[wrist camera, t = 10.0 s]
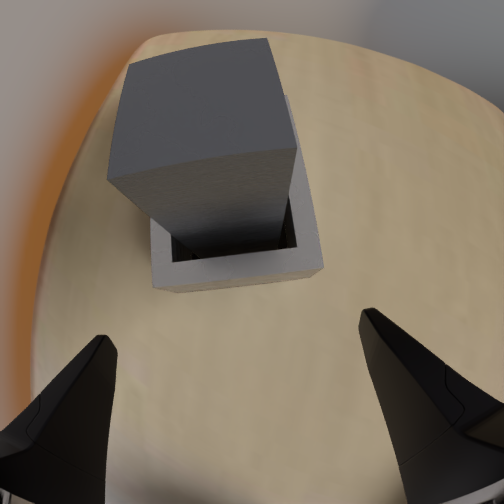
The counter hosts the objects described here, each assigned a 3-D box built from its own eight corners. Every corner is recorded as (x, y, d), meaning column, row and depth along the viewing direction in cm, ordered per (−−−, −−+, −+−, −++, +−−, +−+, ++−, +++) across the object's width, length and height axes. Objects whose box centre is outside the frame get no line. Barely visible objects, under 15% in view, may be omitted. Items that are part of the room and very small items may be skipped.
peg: (276, 251, 19) (297, 147, 6) (203, 260, 19) (106, 179, 6) (267, 183, 20) (267, 37, 7) (198, 193, 20) (129, 64, 8)
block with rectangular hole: (309, 277, 18) (323, 267, 14) (178, 292, 18) (152, 287, 14) (283, 132, 20) (287, 95, 16) (173, 148, 21) (155, 114, 16)
